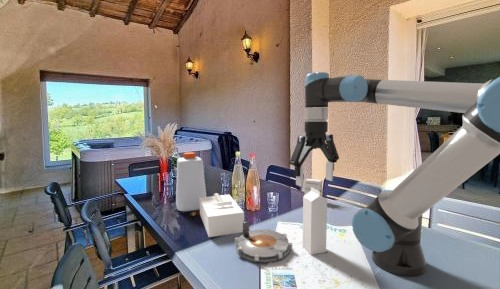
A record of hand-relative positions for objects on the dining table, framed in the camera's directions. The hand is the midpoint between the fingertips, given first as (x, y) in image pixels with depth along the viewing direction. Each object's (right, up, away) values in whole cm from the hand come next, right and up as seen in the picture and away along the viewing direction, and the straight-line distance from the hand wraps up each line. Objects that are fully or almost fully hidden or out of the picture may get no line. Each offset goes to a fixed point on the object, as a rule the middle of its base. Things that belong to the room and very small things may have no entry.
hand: (314, 182), depth 94 cm
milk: (0, -24, +3) cm, 24 cm away
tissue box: (-35, -22, +27) cm, 50 cm away
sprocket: (-18, -23, +4) cm, 29 cm away
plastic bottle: (-53, -19, +48) cm, 74 cm away
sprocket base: (-18, -24, +4) cm, 30 cm away
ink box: (+12, -18, +54) cm, 58 cm away
